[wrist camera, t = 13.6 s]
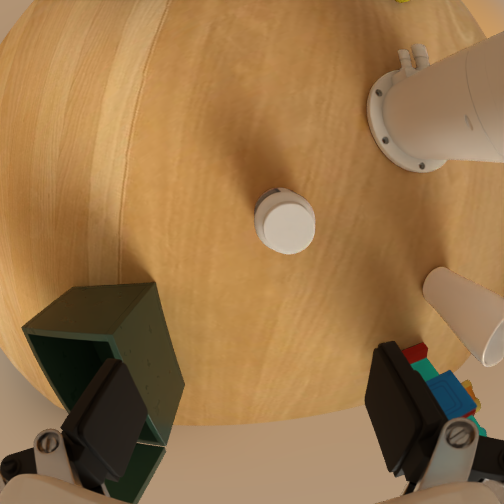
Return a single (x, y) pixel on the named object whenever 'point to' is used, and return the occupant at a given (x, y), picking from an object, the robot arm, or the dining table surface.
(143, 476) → the lid
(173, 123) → the dining table surface
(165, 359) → the box
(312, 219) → the pill bottle
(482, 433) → the toy robot
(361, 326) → the dining table surface
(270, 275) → the dining table surface
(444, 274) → the drinking glass
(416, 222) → the dining table surface
